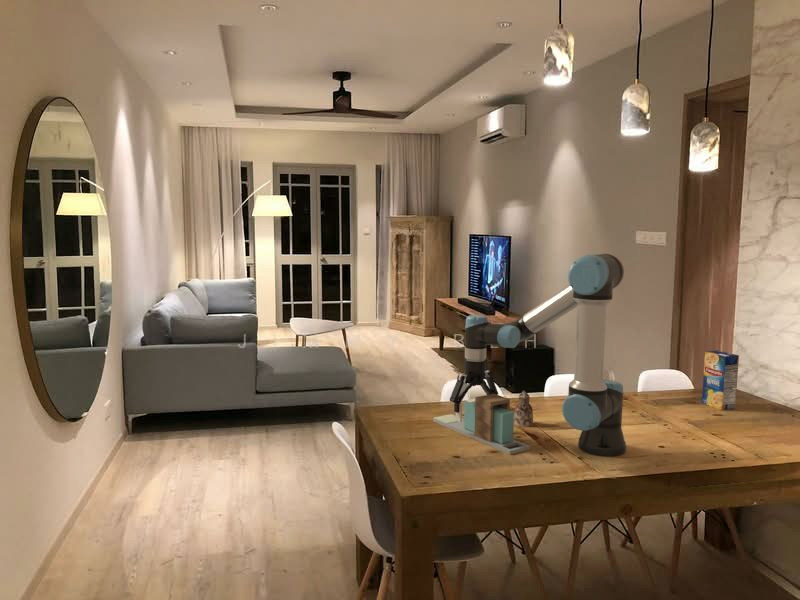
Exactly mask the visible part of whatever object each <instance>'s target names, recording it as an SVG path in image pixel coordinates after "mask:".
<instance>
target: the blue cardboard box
mask: <svg viewBox="0 0 800 600" xmlns="http://www.w3.org/2000/svg"><path fill="white" fill-rule="evenodd" d="M739 360H740V355H738V354H734V353H730V352H726V351H722V350H719V349H718V350H717V349H716V350H705V351H704V360H703V361H704V362H703V378H702V379H703V380H702V396H701V404H702V405H705V404H706V406H708V405H709V407H711V408H714V409H717V410H720V411H728V410H735V409H736V405H737V402H736V401H737V389H738V375H739V363H740V362H739Z"/></svg>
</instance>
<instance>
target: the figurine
mask: <svg viewBox="0 0 800 600" xmlns="http://www.w3.org/2000/svg"><path fill="white" fill-rule="evenodd" d="M530 398H531V397H530V395H529V394H528V393H527V392H526V390H522V392H520V393H519V395H518V403H517V404H516V405H515V408H514V426H515V425H516V426H518V427H523V428H525V427H531V426H533V425H534V411H533V406H532V405H531V404H530Z"/></svg>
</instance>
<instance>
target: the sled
mask: <svg viewBox="0 0 800 600" xmlns="http://www.w3.org/2000/svg"><path fill="white" fill-rule="evenodd" d="M463 400H464V399H463ZM463 408H464V410H463V419H464V428H466V429H468V430H470V431H473V432H475V399H469V400H468V399H465V400H464V403H463ZM514 414H515V411H512V410H510V409H509V410H507V409H504V408H501V407H498V406H495V405H494V406H493V440H494V441H496V442H499V443H501V444H503V443H507V442H511V441H513V439H514V426H515V424H514Z"/></svg>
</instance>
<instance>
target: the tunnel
mask: <svg viewBox="0 0 800 600" xmlns="http://www.w3.org/2000/svg"><path fill="white" fill-rule="evenodd" d="M510 401H511V399H510V398H508V397H506V396H502V395H499V394H498V395H496V394H490V395H484V396H479V397H475V436H477V437H479V438H481V439H484V440H486V441H488V442H493V406H494V405H495V406H498V407H501V408H504V409H507V410H509V411H510Z"/></svg>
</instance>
